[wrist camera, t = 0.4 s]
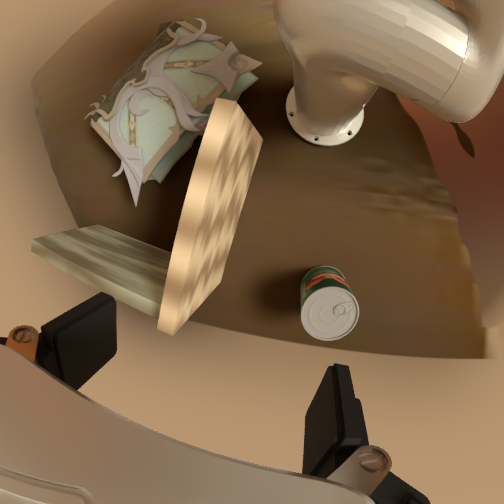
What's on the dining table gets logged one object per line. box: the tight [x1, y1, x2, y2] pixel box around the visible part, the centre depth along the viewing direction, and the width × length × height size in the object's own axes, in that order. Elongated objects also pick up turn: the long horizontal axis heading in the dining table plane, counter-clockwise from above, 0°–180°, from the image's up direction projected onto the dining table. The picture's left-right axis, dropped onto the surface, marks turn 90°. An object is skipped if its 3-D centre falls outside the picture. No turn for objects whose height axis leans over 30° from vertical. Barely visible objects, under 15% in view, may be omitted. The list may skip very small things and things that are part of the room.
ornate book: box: [84, 18, 263, 206], centre depth 40 cm, size 23×10×30 cm
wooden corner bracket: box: [31, 98, 263, 336], centre depth 37 cm, size 25×28×20 cm
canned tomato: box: [301, 266, 359, 341], centre depth 41 cm, size 8×8×11 cm
